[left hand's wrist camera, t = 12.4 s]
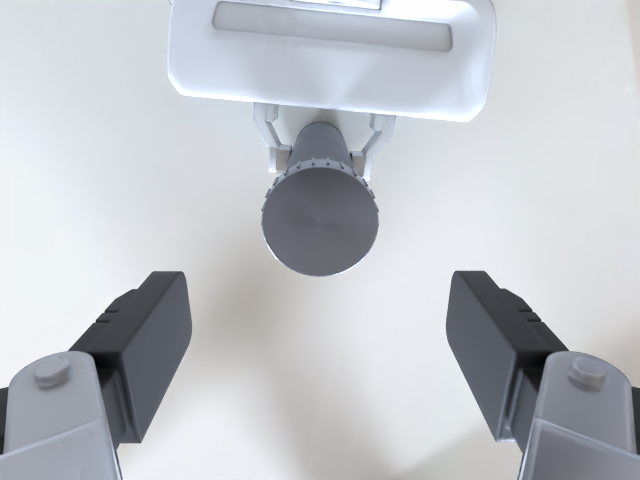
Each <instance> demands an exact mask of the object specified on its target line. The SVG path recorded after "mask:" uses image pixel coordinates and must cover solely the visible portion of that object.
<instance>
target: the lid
mask: <svg viewBox="0 0 640 480" xmlns="http://www.w3.org/2000/svg"><path fill="white" fill-rule="evenodd" d="M265 198H267V199H266V202H265V203H264V205H263V208H262V211H263V213H262V223H261V225H262V230H263V235H264V238H265V241H266V243H267V245H268V247H269V249H270V251H271V252H272V253H273V255H274V256H275V257H276V258H277V259H278V260H279V261H280V262H281V263H282V264H284V265H285V266H286V267H288V268H290V269H291V270H293V271H296V272H298V273H301V274H304V275H308V276H316V277H325V276H332V275H336V274H340V273H342V272H345V271H347V270H349V269H351V268H352V267H354V266H355V265H357V264H358V263H359V262H360V261H361V260H362V259H363V258H364V257H365V256H366V255H367V254H368V252H369V251H370V249H371V248H372V246H373V244H374V241H375V239H376V235H377V231H378V226H379V223H378V212H379V210H378V208H377V205H376V203H375V202H374V199H375V197H374V194H373V192H372V190H369V188H368V184H367V182H366V180H365V178H363V179H362V178H361V176H360V175H359V174H357V172H356V170H355V169H354V168H353V169H351V168H350V167H348V166H346V165H344V164H343V162H342V161H341V162H340V163H339V162H337V161H333V160H329V158H326V159H315V158H312V160H307V161H304V162H300V161H298V163H297V164H296V165H294V166H292V167H291V168H289V169H288V168H286V169H285V171H284V173H283V174H282V175H281V176H280V177H279V178H278V177H276V178H275V181H274V183H273V187H272V188H271V189H269V190H268V192H267V195H266V197H265Z"/></svg>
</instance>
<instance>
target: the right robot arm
mask: <svg viewBox="0 0 640 480" xmlns="http://www.w3.org/2000/svg"><path fill="white" fill-rule="evenodd" d="M169 2H170V4H171V6H172V7H171V15H170V24H169V36H168V64H167V66H168V77H169V79H170V81H171V82H172V84H173V85H174V87H175V88H176V89H177V91H178V92H179V93H180V94H181V95H186V96H196V97H207V98H217V99H228V100H239V101H249V102H254V122H255V124H256V126H257V128H258V129H259V131H260V133H261V135H262V137H263V139H264V141H265V143H266V145H267V147H269V172H272V173H284V171H285V169H286V166H287V164H288V161H289V158H290V156H291V153H292V146H291V145H282V144H281V142H280V140H279V138H278V136H277V134H276V132H275V130H274V128H273V125H272V123H271V122H273V121H274V120H275V119H276V118H278V104H281V105H292V106H302V107H313V108H324V109H334V110H345V111H355V112H366V113H371V117H370V127H371V128H372V129H373V130H374V131H375V133H374V134H373V136H372V137H371V138H370V140H369V141H368V143H367V144H366V145H365V147H364V148H363V150H362V152H358V151H350V157H351V160H352V162H353V165H354V168H355V170H356V172H357V174H359V175H360V176H361V178H362V179H363V178H365V180H366V181H369V180H370V176H371V168H372V161H373V157H375V156H376V155H377V154H378V152H379V151H380V150H381V148H382V147H383V146H384V144H385V143H386V142H387V141H388V139H389V138H390V137H391V135H392V134H393V130H394V124H395V117H396V115H398V116H409V117H419V118H430V119H440V120H451V121H462V122H468V121H470V120H471V119H472V118H473V117H474V116H475V115H477V113H478V112H479V111H480V110H481V109H482V108H483V107H484V104H485V101H486V98H487V94H488V89H489V84H490V78H491V73H492V66H493V59H494V51H495V40H496V26H497V24H496V13H495V8H494V5H493V3H492V1H491V0H169Z"/></svg>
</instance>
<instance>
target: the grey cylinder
mask: <svg viewBox="0 0 640 480" xmlns="http://www.w3.org/2000/svg"><path fill="white" fill-rule="evenodd" d="M312 158H315V159H326V158H329V160H333V161H337V162H339V163H340V162H341V161H342V162H343V164H344V165H346V166H348V167H350V168H351V169H353V168H354V165H353V162H352V160H351V157H350V154H349V152H348V149H347V146H346V144H345V141H344V138H343V136H342V134H341V133H340V131H339V130H338V129H337V128H336V127H334V126H333V125H331V124H329V123H325V122H315V123H312V124H310V125H308V126H306V127H305V128H304V129H303V130H302V131H301V132H300V133H299V135H298V137H297V140H296V143H295V145H294V148H293V150H292V153H291V156H290V158H289V161H288V164H287V166H286V168H288V169H289V168H291V167H292V166H294V165H296V164H297V163H298V161H300V162H304V161H307V160H312ZM354 169H355V168H354Z"/></svg>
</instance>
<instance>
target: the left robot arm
mask: <svg viewBox="0 0 640 480" xmlns="http://www.w3.org/2000/svg"><path fill="white" fill-rule="evenodd" d="M191 333H192V320H191V313H190V306H189V298H188V291H187V283H186V278H185V275H184V273H183V272H182V271H154V272H152V273H151V274H150V275H149V276H148V278H147V279H146V280H145V281H144V282H143V283H142V285H141V286H140V287H139V288H138V289H132V290H130V291H128V292H127V293H125V294H123V295H122V296H120V297H118V298H116V299H115V300H114V301H113V302H112V303H111V304H110V306H109V307H108V308H107V309H106V310H105V313H102V314H101V315H100V316H99V317H98V319H97V320H96V323H93V324H92V325H91V326H90V327H89V328H88V329H87V331H86V332H85V333H84V334H83V335H82V336H81V337H80V338H79V339H78V340H77V341H76V343H75V344H74V345H73V346H72V347H71V348H70V349H69V350H68V351H66V352H60V353H56V354H52V355H49V356H46V357H43V358H41V359H38V360H36V361H34V362H32V363H31V364H29V365H27V366H26V367H24V368H23V369H22V370H20V371H19V372H18V373H17V374H16V375H15V376H14V377H13V379H12V380H11V382H10V384H9V387H6V388H2V389H0V480H123V477H122V473H121V468H120V463H119V459H118V455H117V451H116V450H117V448H118V446H119V444H120V443H141V442H142V440H143V438H144V436H145V434H146V431H147V429H148V427H149V425H150V423H151V421H152V419H153V417H154V415H155V413H156V411H157V409H158V407H159V405H160V403H161V401H162V399H163V397H164V395H165V393H166V391H167V388H168V386H169V384H170V382H171V380H172V378H173V376H174V374H175V372H176V370H177V368H178V366H179V364H180V362H181V360H182V358H183V356H184V354H185V352H186V350H187V348H188V345H189V343H190V339H191ZM446 333H447V339H448V343H449V345H450V347H451V349H452V351H453V353H454V356H455V358H456V360H457V362H458V364H459V366H460V368H461V370H462V372H463V374H464V376H465V378H466V380H467V383H468V385H469V387H470V389H471V391H472V393H473V395H474V397H475V399H476V401H477V403H478V405H479V407H480V410H481V412H482V414H483V416H484V418H485V420H486V422H487V424H488V426H489V428H490V430H491V432H492V434H493V437H494V439H495V441H496V442H517V444H518V446H519V447H520V449H521V451H522V453H523V455H522V459H521V463H520V468H519V473H518V477H517V480H640V388H636V387H631V384H630V382H629V380H628V379H627V377H626V376H625V375H624V374H623V373H622V372H621V371H620V370H618V369H617V368H616V367H614V366H613V365H611V364H609V363H608V362H606V361H604V360H602V359H599V358H597V357H594V356H591V355H588V354H584V353H580V352H574V351H569V350H568V349H567V347H566V346H565V345H564V344H563V343H562V342H561V341H560V340H559V339H558V338H557V336H556V335H555V334H554V333H553V332H552V331H551V330H550V329H549V328H548V327H547V325H546V324H545V323H544V322H541V319H540V318H539V317H538V316H537V314H536V313H535V312H532V309H531V308H530V307H529V306H528V305H527V303H526V302H525V301H524V300H523V299H522V298H520V297H519V296H517V295H515V294H513V293H512V292H510V291H508V290H507V289H500V288H499V287H498V286H497V285H496V283H495V282H494V281H493V280H492V279H491V278H490V276H489V275H488V274H487V273H486V272H485V271H455V272H454V274H453V276H452V281H451V288H450V296H449V304H448V311H447V319H446Z"/></svg>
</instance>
